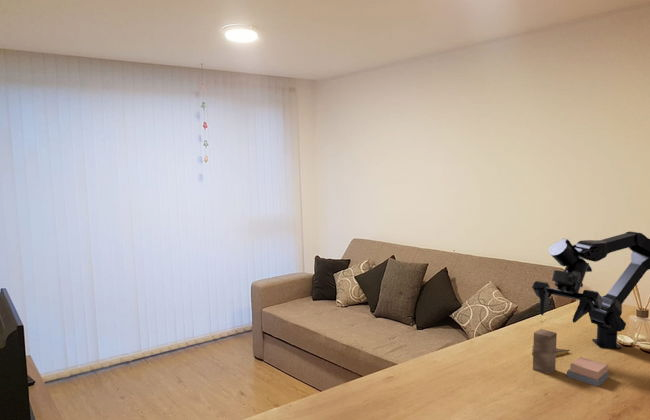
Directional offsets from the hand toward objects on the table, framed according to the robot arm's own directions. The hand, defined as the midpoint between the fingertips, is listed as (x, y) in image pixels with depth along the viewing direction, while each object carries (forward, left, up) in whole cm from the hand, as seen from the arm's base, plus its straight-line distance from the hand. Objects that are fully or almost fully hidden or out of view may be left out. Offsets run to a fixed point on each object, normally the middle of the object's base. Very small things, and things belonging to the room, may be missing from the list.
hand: (557, 318), depth 140 cm
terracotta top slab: (+9, +6, -12) cm, 16 cm away
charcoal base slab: (+9, +6, -14) cm, 18 cm away
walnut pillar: (+6, -5, -14) cm, 16 cm away
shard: (-8, 0, -14) cm, 16 cm away
